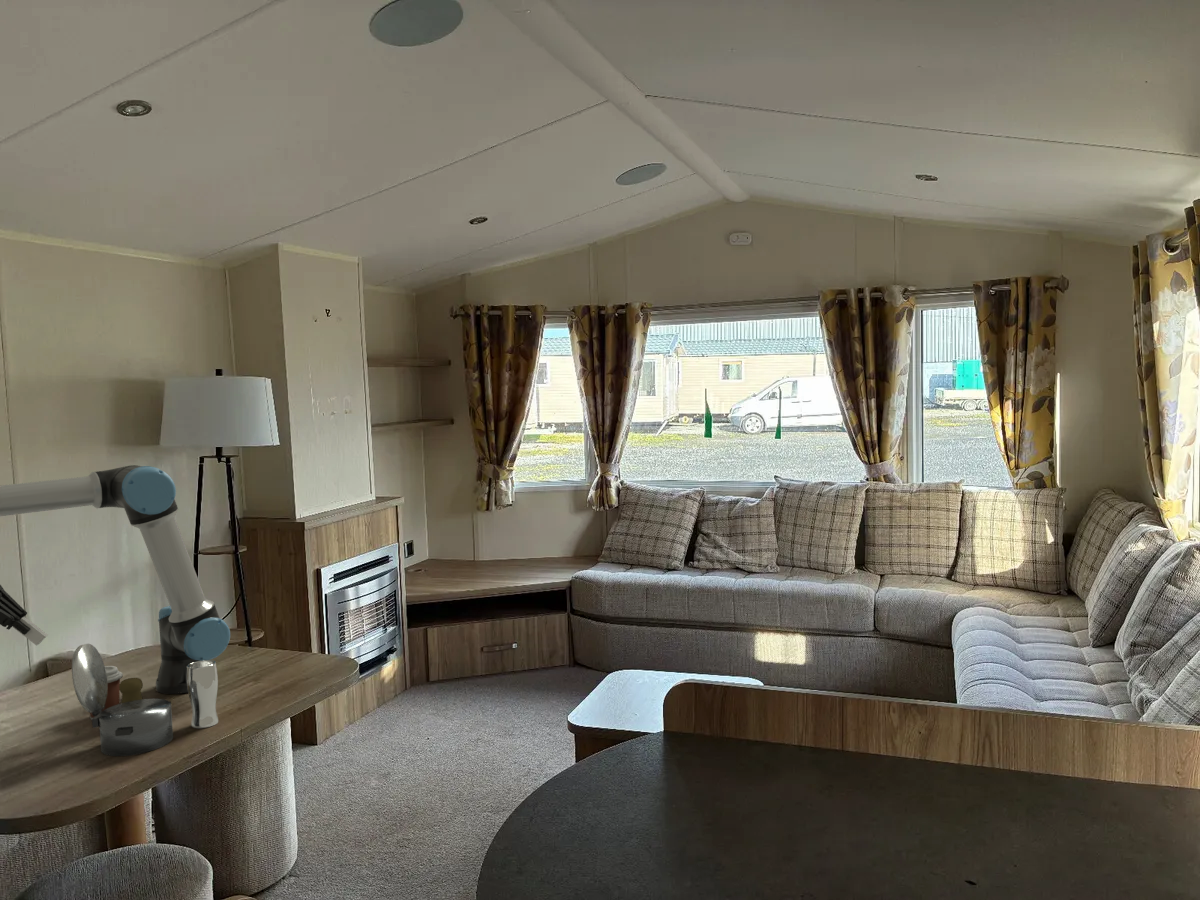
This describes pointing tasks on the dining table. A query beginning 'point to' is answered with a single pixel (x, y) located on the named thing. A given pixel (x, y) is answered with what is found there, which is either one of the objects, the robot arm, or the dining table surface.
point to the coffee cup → (112, 687)
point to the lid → (89, 678)
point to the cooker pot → (135, 727)
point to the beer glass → (203, 692)
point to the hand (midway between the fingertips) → (42, 640)
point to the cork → (131, 689)
